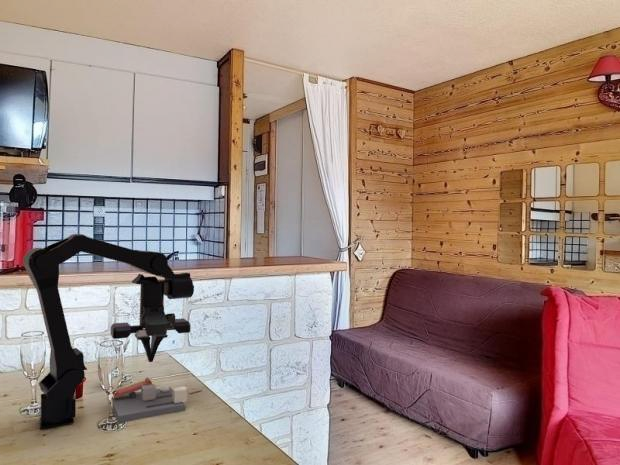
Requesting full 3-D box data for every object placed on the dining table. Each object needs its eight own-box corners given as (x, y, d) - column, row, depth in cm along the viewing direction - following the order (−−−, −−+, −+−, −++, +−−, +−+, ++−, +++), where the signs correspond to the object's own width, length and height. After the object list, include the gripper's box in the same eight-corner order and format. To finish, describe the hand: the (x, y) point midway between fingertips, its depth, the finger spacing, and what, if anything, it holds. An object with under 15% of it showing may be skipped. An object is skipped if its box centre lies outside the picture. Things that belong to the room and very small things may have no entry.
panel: (118, 422, 104) (118, 411, 104) (109, 402, 116) (109, 391, 116) (184, 410, 112) (184, 399, 112) (169, 392, 124) (170, 382, 124)
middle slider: (142, 401, 113) (143, 388, 113) (140, 397, 115) (141, 385, 115) (155, 399, 114) (155, 386, 114) (153, 395, 116) (153, 384, 116)
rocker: (115, 398, 113) (114, 393, 113) (113, 394, 115) (112, 389, 115) (152, 385, 117) (151, 380, 117) (149, 381, 120) (148, 377, 120)
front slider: (174, 403, 112) (174, 391, 112) (172, 400, 114) (172, 388, 114) (186, 401, 113) (187, 389, 113) (184, 398, 115) (184, 386, 115)
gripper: (116, 307, 106) (115, 375, 106) (197, 303, 115) (195, 365, 115) (111, 300, 116) (109, 362, 116) (185, 297, 125) (184, 354, 125)
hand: (150, 361), depth 118 cm, fingers closed
